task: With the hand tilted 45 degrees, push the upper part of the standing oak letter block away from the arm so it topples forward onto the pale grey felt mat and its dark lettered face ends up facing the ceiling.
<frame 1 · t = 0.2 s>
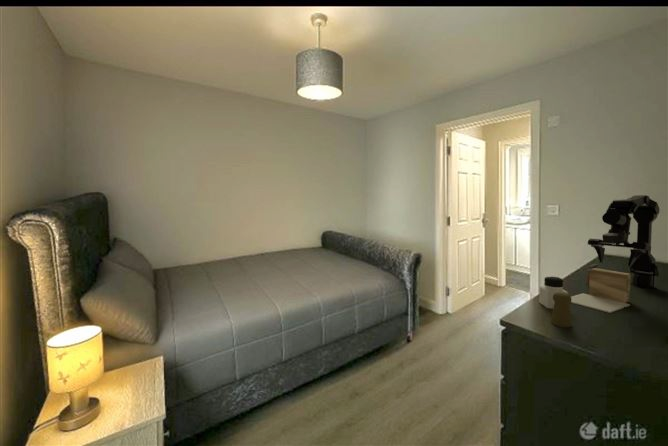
hand: (614, 264, 122), 15 cm above the table, tool pointing down, fingers open, 9 cm apart
felt mat: (594, 302, 121), on the table
lighter: (592, 284, 145), on the table
medicine bottle: (552, 306, 119), on the table
wooden pepper mill: (561, 324, 103), on the table
letter block: (608, 298, 125), on the table
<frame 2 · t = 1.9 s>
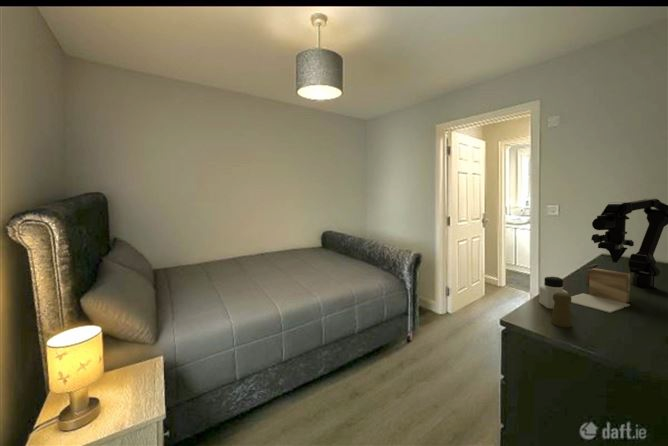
hand: (615, 262, 136), 13 cm above the table, tool pointing down, fingers closed
nothing on the table moved.
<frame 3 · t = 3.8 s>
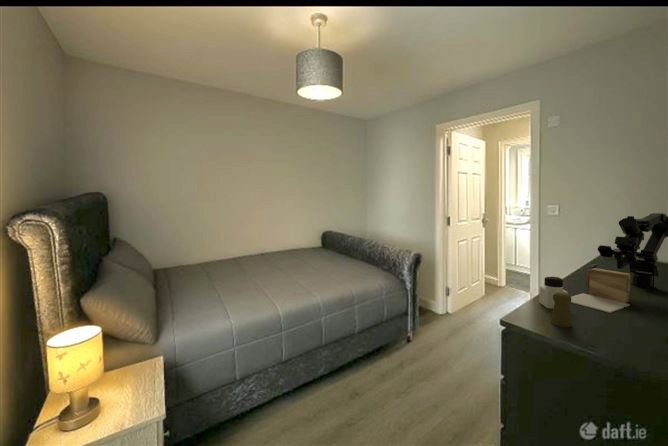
hand: (618, 268, 128), 12 cm above the table, tool tilted 45°, fingers closed
nothing on the table moved.
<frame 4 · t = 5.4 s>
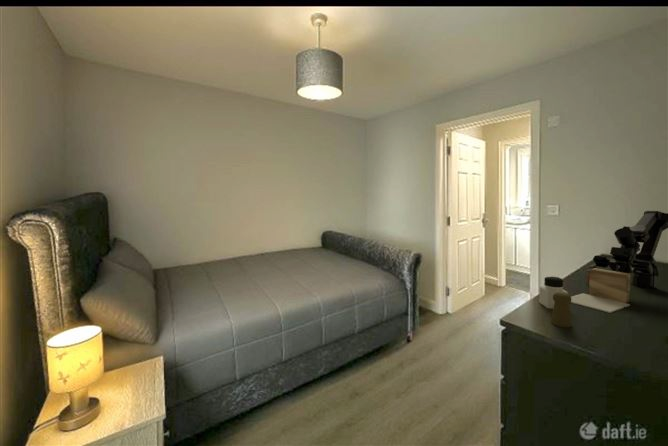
hand: (614, 279, 127), 8 cm above the table, tool tilted 45°, fingers closed
nothing on the table moved.
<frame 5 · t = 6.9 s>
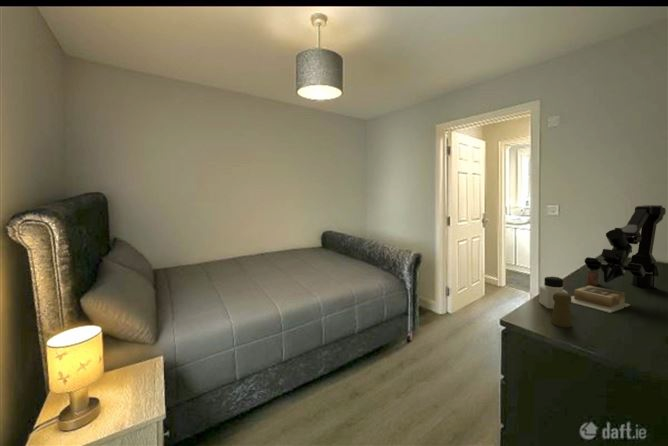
hand: (605, 282, 123), 8 cm above the table, tool tilted 45°, fingers closed
letter block: (606, 293, 124), point 2 cm above the table, tilted 90°, touching felt mat
everything else where it was.
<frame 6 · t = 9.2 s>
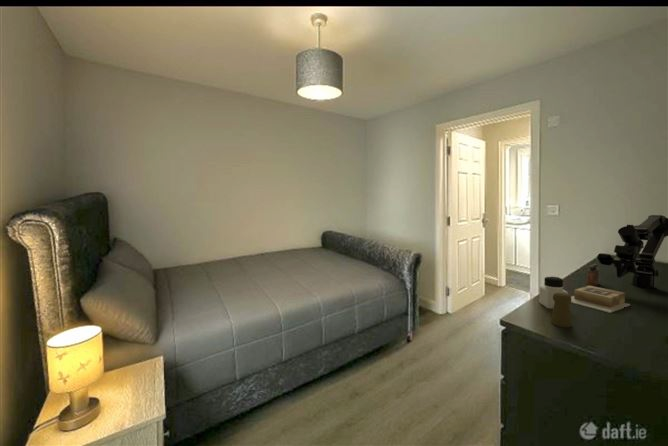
hand: (618, 277, 128), 8 cm above the table, tool tilted 45°, fingers closed
nothing on the table moved.
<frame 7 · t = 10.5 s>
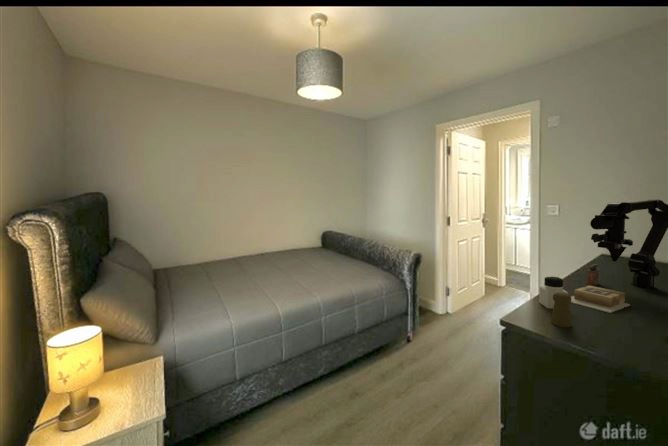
hand: (614, 261, 137), 13 cm above the table, tool pointing down, fingers closed
nothing on the table moved.
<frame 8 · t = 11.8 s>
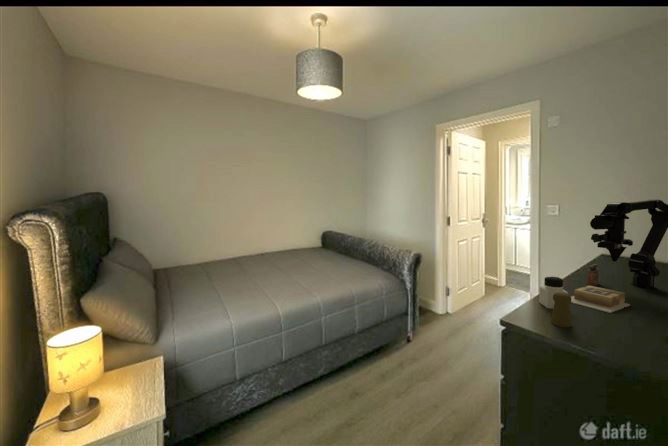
hand: (614, 261, 137), 13 cm above the table, tool pointing down, fingers closed
nothing on the table moved.
at the end: letter block tilted 90°; letter block 9.1 cm from the felt mat (horizontally); letter block point 2.5 cm above the table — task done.
